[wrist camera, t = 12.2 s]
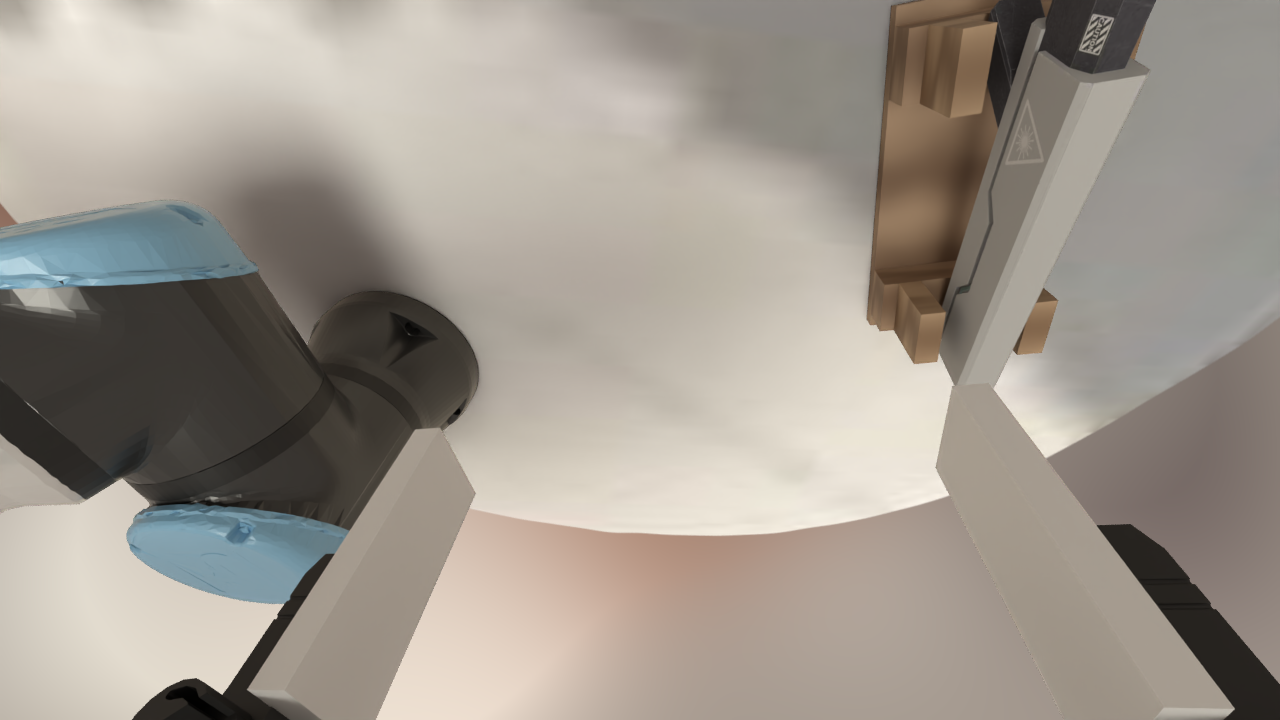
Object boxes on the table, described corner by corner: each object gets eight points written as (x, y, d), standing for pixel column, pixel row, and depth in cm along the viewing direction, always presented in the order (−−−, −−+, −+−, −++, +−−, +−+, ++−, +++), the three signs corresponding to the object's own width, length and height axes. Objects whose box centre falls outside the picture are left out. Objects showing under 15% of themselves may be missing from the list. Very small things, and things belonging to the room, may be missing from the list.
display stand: (997, 305, 41) (1054, 363, 35) (866, 319, 43) (897, 376, 36) (1079, -33, 29) (1190, -41, 22) (891, 5, 31) (943, 8, 24)
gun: (1069, -98, 24) (1220, -53, 17) (943, 300, 42) (994, 395, 36) (1010, -84, 24) (1135, -36, 18) (911, 303, 43) (954, 398, 36)
